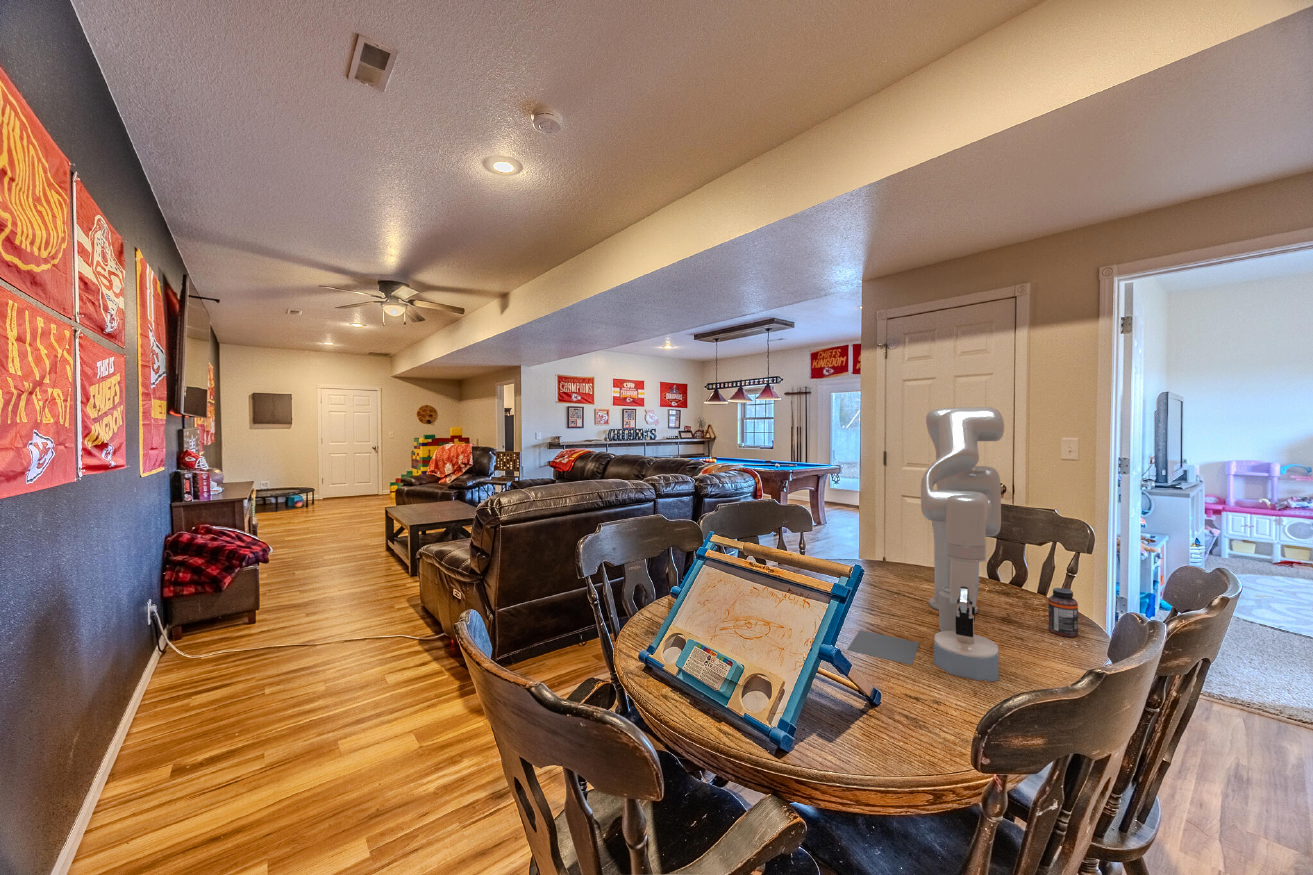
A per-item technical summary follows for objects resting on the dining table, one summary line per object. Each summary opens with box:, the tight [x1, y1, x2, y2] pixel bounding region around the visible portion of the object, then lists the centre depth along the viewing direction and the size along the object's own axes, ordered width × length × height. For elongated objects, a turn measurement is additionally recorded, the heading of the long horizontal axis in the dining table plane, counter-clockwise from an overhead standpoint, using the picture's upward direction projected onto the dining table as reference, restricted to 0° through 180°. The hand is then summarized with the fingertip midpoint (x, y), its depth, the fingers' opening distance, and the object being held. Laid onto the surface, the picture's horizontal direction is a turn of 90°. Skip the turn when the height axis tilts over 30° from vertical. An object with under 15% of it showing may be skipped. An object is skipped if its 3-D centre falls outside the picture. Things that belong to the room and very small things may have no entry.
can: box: [938, 586, 960, 632], centre depth 128 cm, size 8×8×12 cm
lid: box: [934, 615, 999, 658], centre depth 110 cm, size 12×12×7 cm
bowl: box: [933, 640, 1000, 683], centre depth 110 cm, size 12×12×5 cm
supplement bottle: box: [1047, 587, 1079, 638], centre depth 128 cm, size 6×6×11 cm
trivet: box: [846, 629, 921, 666], centre depth 120 cm, size 14×14×1 cm
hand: (965, 627), depth 110 cm, fingers open, 9 cm apart
